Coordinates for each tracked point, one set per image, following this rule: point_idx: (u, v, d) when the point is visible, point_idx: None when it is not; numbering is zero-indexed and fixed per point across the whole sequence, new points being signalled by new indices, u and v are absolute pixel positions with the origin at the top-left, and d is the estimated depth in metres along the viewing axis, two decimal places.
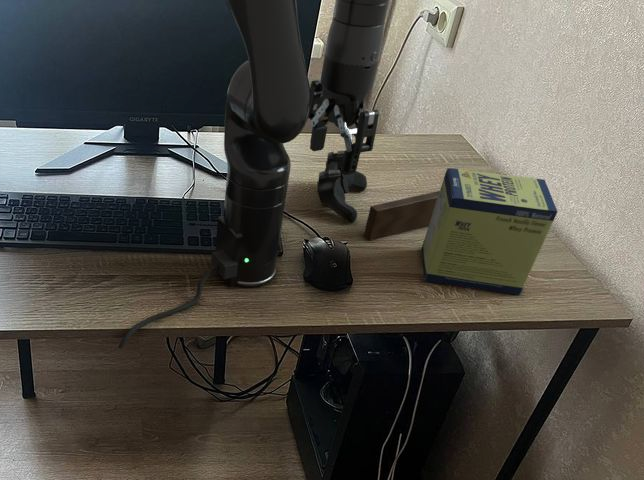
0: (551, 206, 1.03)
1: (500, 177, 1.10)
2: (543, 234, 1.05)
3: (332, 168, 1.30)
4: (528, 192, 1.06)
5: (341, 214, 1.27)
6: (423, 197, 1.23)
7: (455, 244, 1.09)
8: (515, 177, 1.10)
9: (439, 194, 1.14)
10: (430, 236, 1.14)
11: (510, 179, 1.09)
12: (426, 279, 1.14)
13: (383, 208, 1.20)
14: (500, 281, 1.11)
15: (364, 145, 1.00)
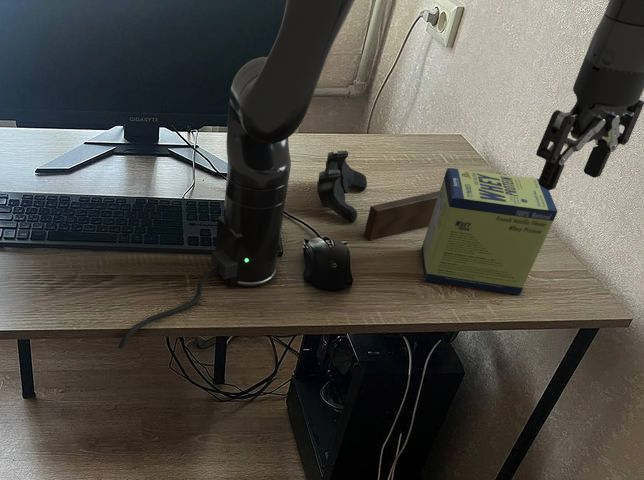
0: (551, 206, 1.03)
1: (500, 177, 1.10)
2: (543, 234, 1.05)
3: (332, 168, 1.30)
4: (528, 192, 1.06)
5: (341, 214, 1.27)
6: (423, 197, 1.23)
7: (455, 244, 1.09)
8: (515, 177, 1.10)
9: (439, 194, 1.14)
10: (430, 236, 1.14)
11: (510, 179, 1.09)
12: (426, 279, 1.14)
13: (383, 208, 1.20)
14: (500, 281, 1.11)
15: (546, 151, 0.88)
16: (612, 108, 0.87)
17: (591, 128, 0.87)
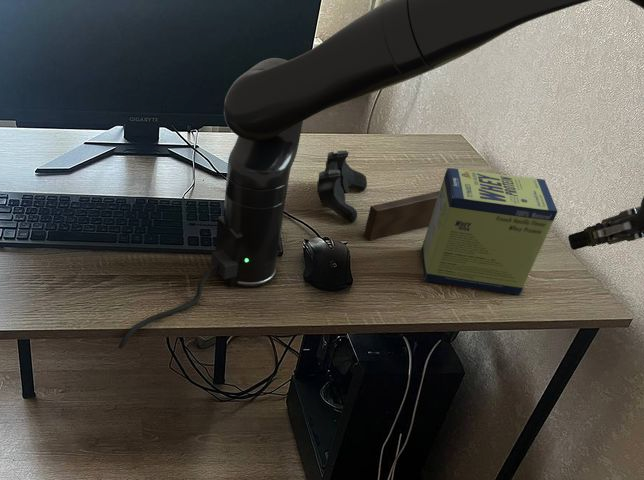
0: (551, 206, 1.03)
1: (500, 177, 1.10)
2: (543, 234, 1.05)
3: (332, 168, 1.30)
4: (528, 192, 1.06)
5: (341, 214, 1.27)
6: (423, 197, 1.23)
7: (455, 244, 1.09)
8: (515, 177, 1.10)
9: (439, 194, 1.14)
10: (430, 236, 1.14)
11: (510, 179, 1.09)
12: (426, 279, 1.14)
13: (383, 208, 1.20)
14: (500, 281, 1.11)
15: None
16: None
17: (626, 239, 0.89)
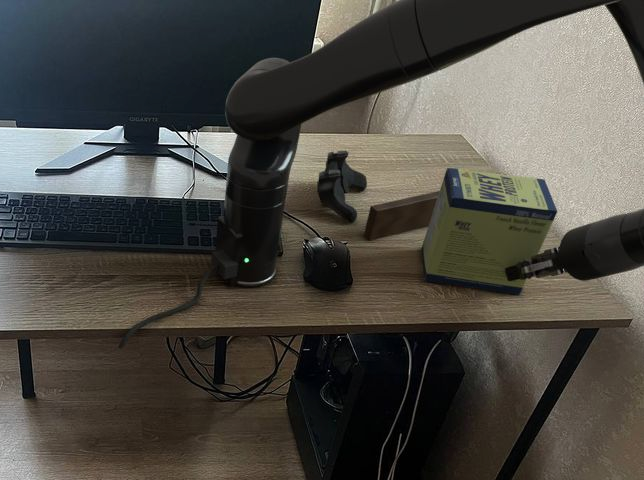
0: (551, 206, 1.03)
1: (500, 177, 1.10)
2: (543, 234, 1.05)
3: (332, 168, 1.30)
4: (528, 191, 1.06)
5: (341, 214, 1.27)
6: (423, 197, 1.23)
7: (455, 244, 1.09)
8: (515, 177, 1.10)
9: (439, 194, 1.14)
10: (430, 236, 1.14)
11: (510, 179, 1.09)
12: (426, 279, 1.14)
13: (383, 208, 1.20)
14: (500, 281, 1.11)
15: None
16: None
17: (550, 274, 1.00)
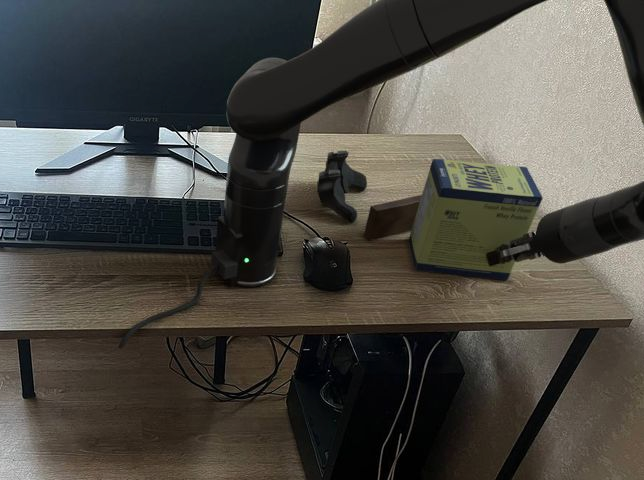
0: (536, 192, 1.06)
1: (485, 166, 1.12)
2: (529, 220, 1.08)
3: (332, 168, 1.30)
4: (513, 179, 1.09)
5: (341, 214, 1.27)
6: None
7: (445, 233, 1.11)
8: (498, 165, 1.13)
9: (426, 185, 1.16)
10: (419, 226, 1.17)
11: (494, 167, 1.12)
12: (417, 268, 1.16)
13: (383, 208, 1.20)
14: (489, 268, 1.14)
15: None
16: None
17: (528, 258, 1.03)
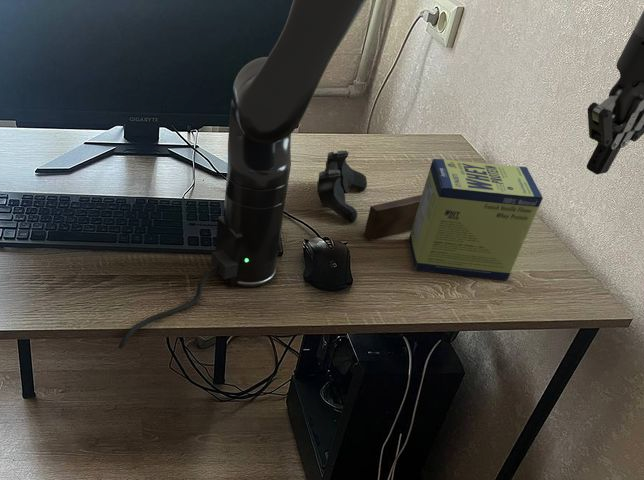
0: (536, 192, 1.06)
1: (485, 166, 1.12)
2: (529, 220, 1.08)
3: (332, 168, 1.30)
4: (513, 179, 1.09)
5: (341, 214, 1.27)
6: None
7: (445, 233, 1.11)
8: (499, 165, 1.13)
9: (426, 184, 1.16)
10: (419, 226, 1.17)
11: (494, 167, 1.12)
12: (417, 268, 1.16)
13: (383, 208, 1.20)
14: (489, 268, 1.14)
15: (600, 133, 0.87)
16: None
17: (632, 112, 0.84)
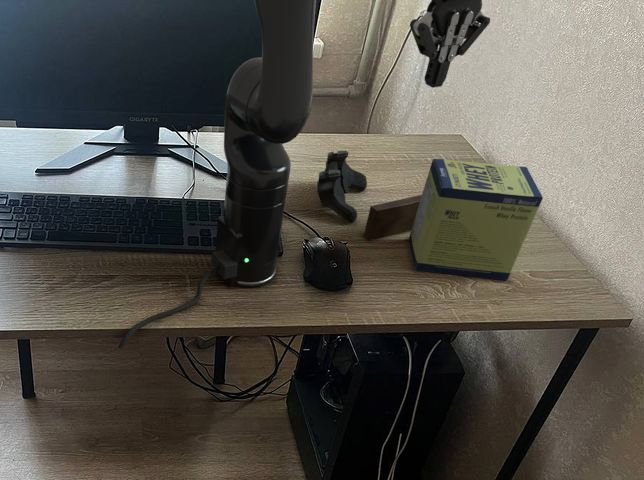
0: (536, 192, 1.06)
1: (485, 166, 1.12)
2: (529, 220, 1.08)
3: (332, 168, 1.30)
4: (513, 179, 1.09)
5: (341, 214, 1.27)
6: None
7: (445, 233, 1.11)
8: (499, 165, 1.13)
9: (426, 184, 1.16)
10: (419, 226, 1.17)
11: (494, 167, 1.12)
12: (417, 268, 1.16)
13: (383, 208, 1.20)
14: (489, 267, 1.14)
15: None
16: (466, 4, 0.96)
17: (448, 25, 0.96)
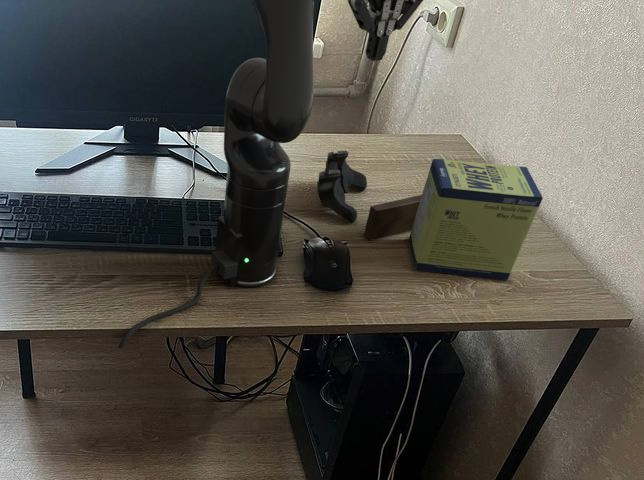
0: (536, 192, 1.06)
1: (485, 166, 1.12)
2: (529, 220, 1.08)
3: (332, 168, 1.30)
4: (513, 179, 1.09)
5: (341, 214, 1.27)
6: None
7: (445, 233, 1.11)
8: (499, 165, 1.13)
9: (426, 184, 1.16)
10: (419, 226, 1.17)
11: (494, 167, 1.12)
12: (417, 268, 1.16)
13: (383, 208, 1.20)
14: (489, 268, 1.14)
15: None
16: None
17: (384, 0, 1.02)
